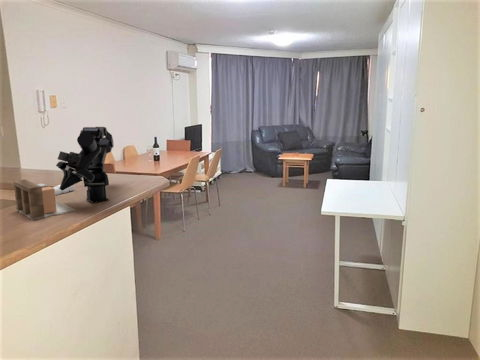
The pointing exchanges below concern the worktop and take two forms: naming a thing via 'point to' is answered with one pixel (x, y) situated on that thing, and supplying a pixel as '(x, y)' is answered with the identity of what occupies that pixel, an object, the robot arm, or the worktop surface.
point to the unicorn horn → (58, 191)
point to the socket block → (34, 201)
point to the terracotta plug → (49, 199)
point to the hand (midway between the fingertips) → (60, 189)
